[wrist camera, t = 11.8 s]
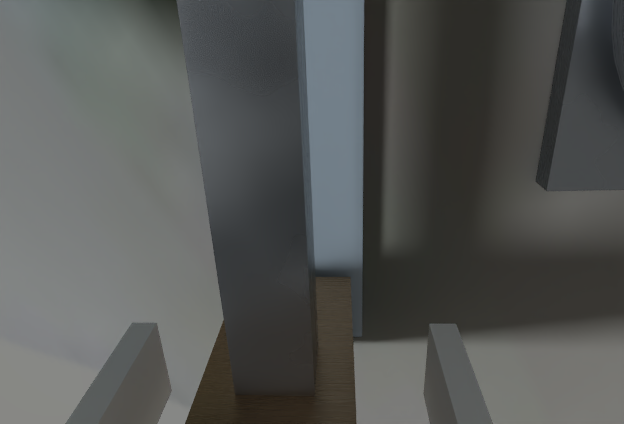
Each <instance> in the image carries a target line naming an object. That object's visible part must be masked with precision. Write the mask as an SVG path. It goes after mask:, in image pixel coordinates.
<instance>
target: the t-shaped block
mask: <svg viewBox="0 0 624 424" xmlns="http://www.w3.org/2000/svg"><path fill="white" fill-rule="evenodd" d="M303 7H304V30H305V52H306V75H307V98H308V120H309V143H310V166H311V188H312V211H313V234H314V256H315V277H351V301H352V326H353V337H362V274H363V105H364V0H303Z"/></svg>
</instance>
